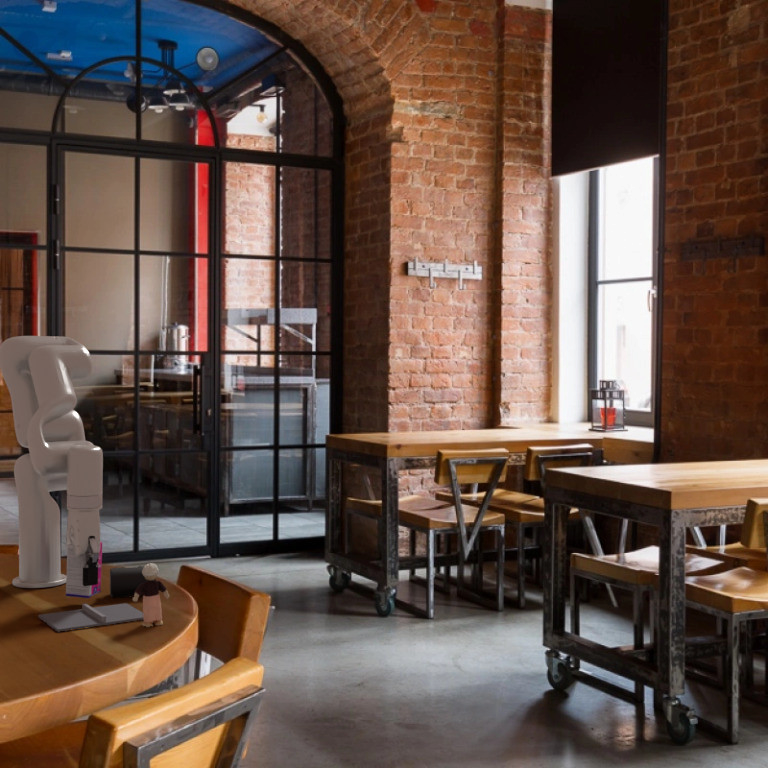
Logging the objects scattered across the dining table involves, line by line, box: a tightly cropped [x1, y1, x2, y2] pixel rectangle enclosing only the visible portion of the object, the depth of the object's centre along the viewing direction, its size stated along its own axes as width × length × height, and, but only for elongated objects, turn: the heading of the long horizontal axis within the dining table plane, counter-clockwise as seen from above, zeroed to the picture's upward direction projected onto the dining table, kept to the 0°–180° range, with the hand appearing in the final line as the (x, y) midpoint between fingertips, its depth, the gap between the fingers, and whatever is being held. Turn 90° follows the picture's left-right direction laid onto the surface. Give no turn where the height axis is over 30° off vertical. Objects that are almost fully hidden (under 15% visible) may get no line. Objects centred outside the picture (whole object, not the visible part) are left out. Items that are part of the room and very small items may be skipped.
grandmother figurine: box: [131, 563, 170, 628], centre depth 217 cm, size 8×4×13 cm, turn 135°
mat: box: [38, 602, 144, 633], centre depth 222 cm, size 14×19×2 cm
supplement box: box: [65, 541, 103, 599], centre depth 233 cm, size 6×6×12 cm
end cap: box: [109, 565, 157, 598], centre depth 243 cm, size 10×7×7 cm
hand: (84, 580), depth 233 cm, fingers closed on supplement box, 8 cm apart
